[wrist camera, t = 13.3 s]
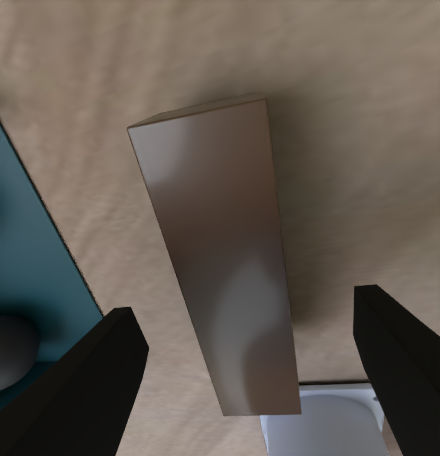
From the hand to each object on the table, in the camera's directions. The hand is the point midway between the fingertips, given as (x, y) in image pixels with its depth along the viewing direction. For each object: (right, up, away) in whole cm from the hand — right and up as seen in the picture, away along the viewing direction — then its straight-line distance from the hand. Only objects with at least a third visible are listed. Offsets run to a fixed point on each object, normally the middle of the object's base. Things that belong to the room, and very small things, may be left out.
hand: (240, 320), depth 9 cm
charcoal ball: (-13, -4, +7) cm, 15 cm away
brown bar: (0, +2, +4) cm, 5 cm away
